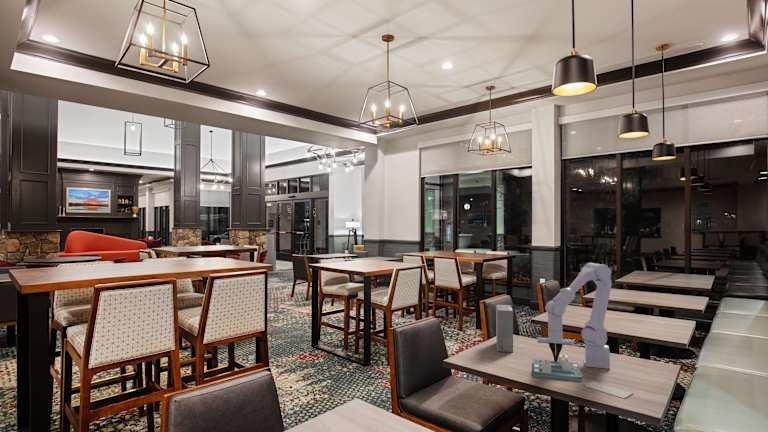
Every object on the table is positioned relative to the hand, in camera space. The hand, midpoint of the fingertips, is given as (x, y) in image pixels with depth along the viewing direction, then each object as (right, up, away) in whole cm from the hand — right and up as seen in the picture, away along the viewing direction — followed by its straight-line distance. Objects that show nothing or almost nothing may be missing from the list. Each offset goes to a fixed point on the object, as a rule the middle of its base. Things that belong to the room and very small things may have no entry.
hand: (555, 360), depth 178 cm
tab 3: (+2, -1, -7) cm, 7 cm away
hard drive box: (-14, -4, +29) cm, 32 cm away
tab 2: (+3, -1, -1) cm, 3 cm away
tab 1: (-8, -2, -9) cm, 12 cm away
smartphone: (+9, -3, -24) cm, 26 cm away
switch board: (-2, -3, -5) cm, 6 cm away
